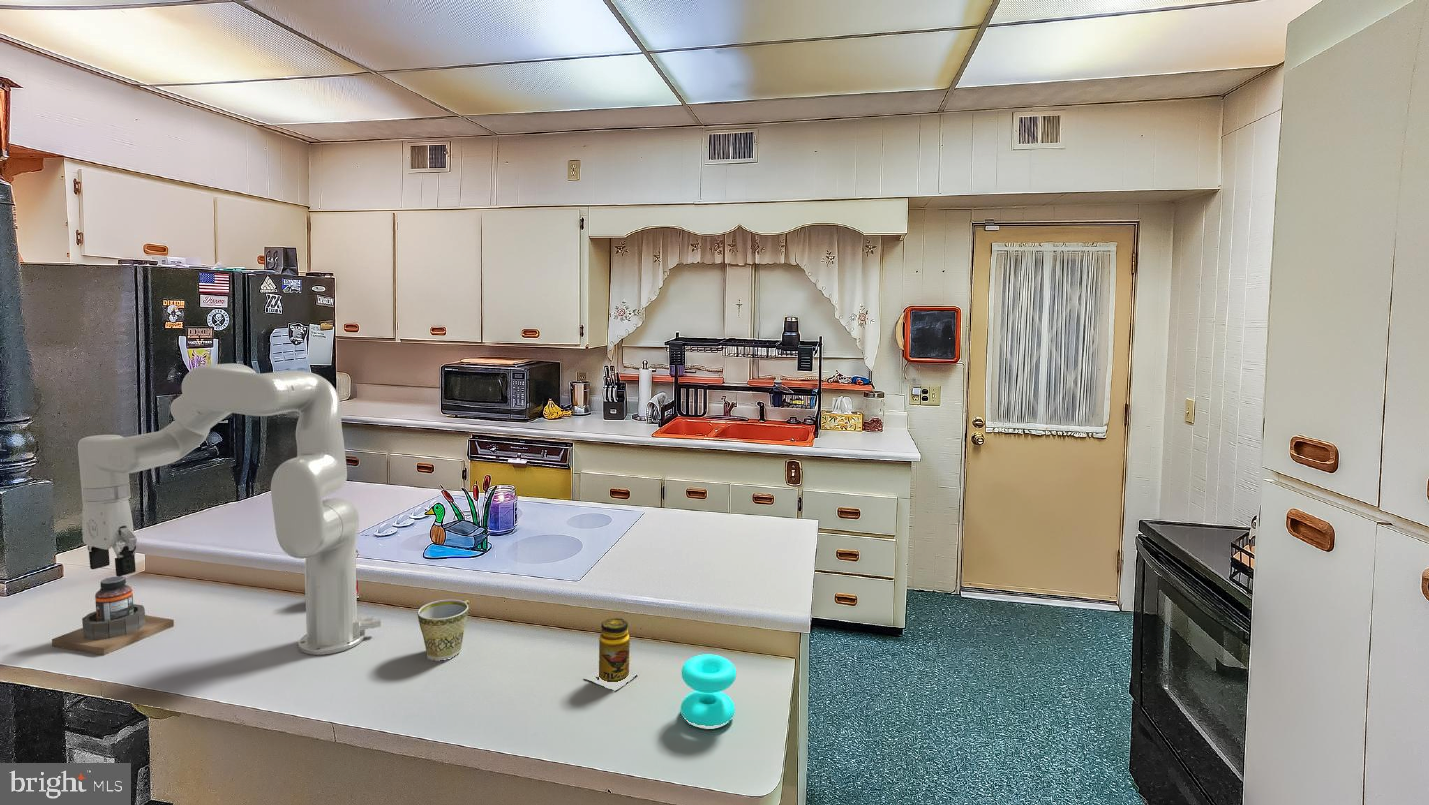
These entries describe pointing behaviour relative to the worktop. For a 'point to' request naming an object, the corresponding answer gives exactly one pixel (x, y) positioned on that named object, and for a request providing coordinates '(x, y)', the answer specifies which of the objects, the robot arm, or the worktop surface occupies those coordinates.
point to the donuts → (708, 690)
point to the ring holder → (112, 632)
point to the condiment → (614, 650)
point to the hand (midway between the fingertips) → (112, 570)
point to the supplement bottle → (114, 599)
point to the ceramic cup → (443, 627)
